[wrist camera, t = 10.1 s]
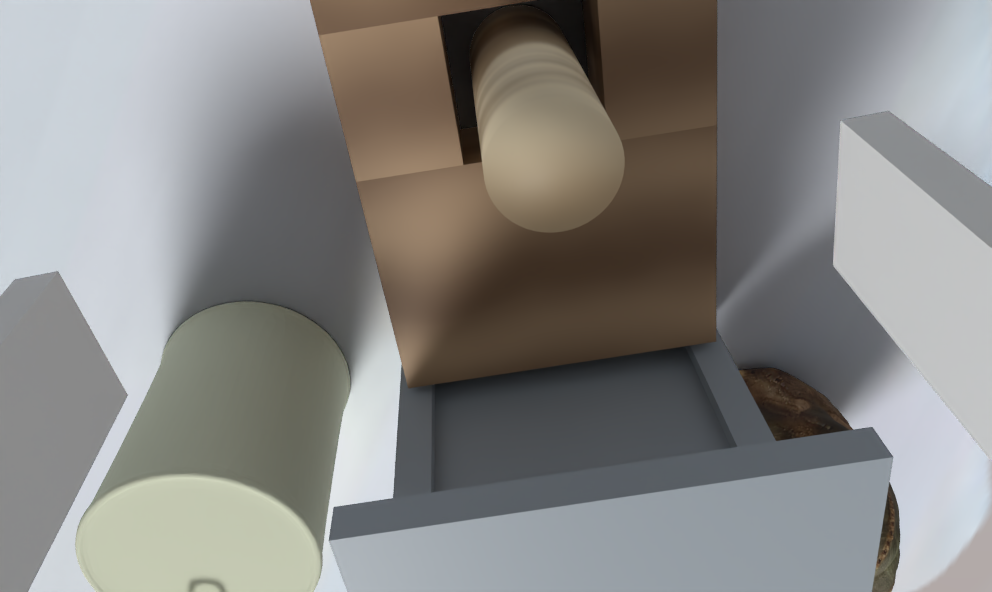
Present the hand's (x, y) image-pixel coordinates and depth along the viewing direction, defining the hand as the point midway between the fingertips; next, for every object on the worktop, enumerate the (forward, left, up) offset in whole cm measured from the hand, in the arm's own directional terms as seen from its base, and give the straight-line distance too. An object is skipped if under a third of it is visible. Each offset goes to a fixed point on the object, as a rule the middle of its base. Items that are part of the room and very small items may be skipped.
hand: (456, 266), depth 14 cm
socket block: (+7, +3, -21) cm, 23 cm away
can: (+16, -12, -21) cm, 30 cm away
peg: (+2, +3, -21) cm, 21 cm away
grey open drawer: (+13, +3, -21) cm, 25 cm away
